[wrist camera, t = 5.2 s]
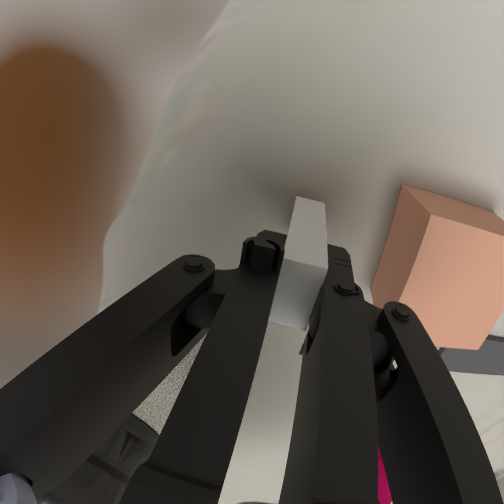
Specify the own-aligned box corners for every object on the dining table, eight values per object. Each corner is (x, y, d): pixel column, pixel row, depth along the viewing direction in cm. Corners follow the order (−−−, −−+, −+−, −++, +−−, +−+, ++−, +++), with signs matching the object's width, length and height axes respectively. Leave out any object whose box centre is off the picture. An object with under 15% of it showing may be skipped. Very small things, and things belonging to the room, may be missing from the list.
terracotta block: (369, 286, 18) (380, 340, 14) (401, 183, 15) (431, 214, 10) (454, 301, 17) (478, 349, 13) (492, 211, 14) (533, 247, 10)
